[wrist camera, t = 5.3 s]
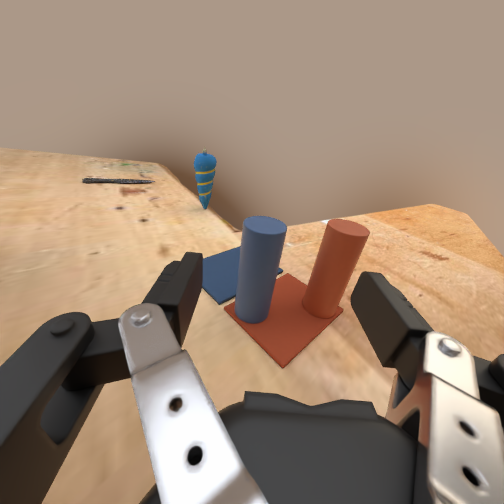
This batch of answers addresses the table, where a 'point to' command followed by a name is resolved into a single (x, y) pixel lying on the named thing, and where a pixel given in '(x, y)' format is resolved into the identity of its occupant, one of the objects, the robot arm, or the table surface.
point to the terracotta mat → (285, 322)
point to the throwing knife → (114, 180)
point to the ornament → (204, 176)
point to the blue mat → (222, 274)
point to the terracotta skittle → (334, 266)
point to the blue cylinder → (258, 267)
